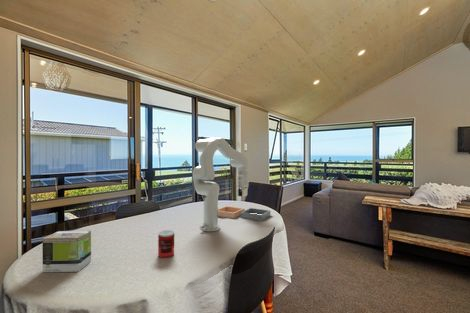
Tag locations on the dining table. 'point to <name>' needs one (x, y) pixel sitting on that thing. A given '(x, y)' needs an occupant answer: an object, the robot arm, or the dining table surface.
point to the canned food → (166, 243)
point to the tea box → (66, 251)
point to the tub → (230, 212)
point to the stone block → (243, 192)
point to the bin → (247, 214)
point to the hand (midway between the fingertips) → (242, 195)
